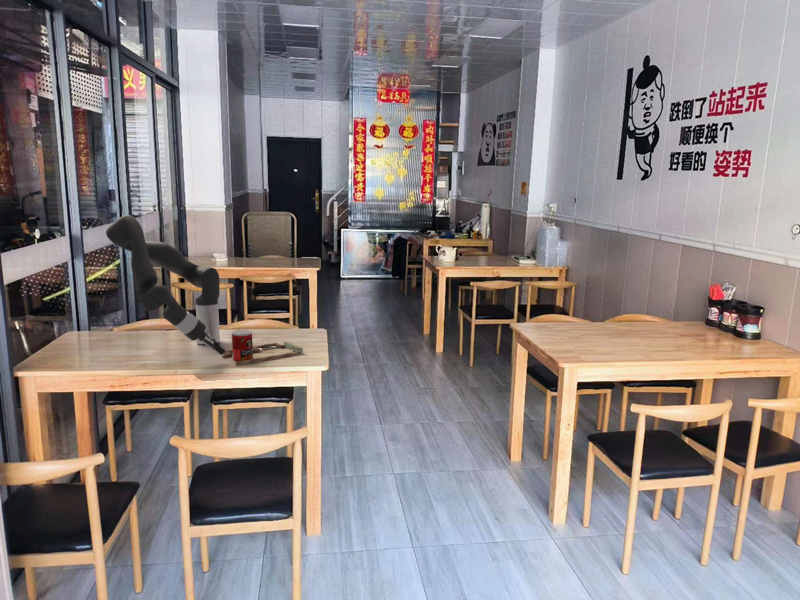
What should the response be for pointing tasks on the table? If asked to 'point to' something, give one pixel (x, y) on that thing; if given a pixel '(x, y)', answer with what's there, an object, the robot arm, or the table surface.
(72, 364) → the table surface
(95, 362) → the table surface
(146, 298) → the robot arm
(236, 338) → the canned food
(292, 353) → the brown pliers
